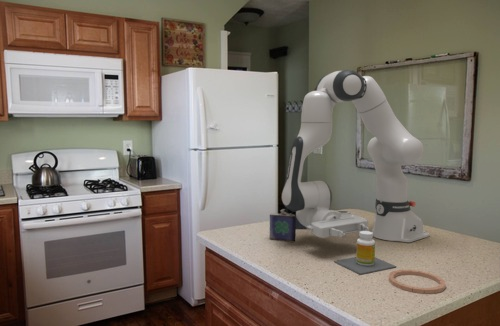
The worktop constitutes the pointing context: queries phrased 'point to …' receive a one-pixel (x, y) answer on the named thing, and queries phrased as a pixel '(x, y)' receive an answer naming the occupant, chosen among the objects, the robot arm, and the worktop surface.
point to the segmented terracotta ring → (417, 289)
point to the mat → (360, 269)
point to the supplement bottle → (365, 249)
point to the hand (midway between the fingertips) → (355, 232)
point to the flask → (283, 226)
